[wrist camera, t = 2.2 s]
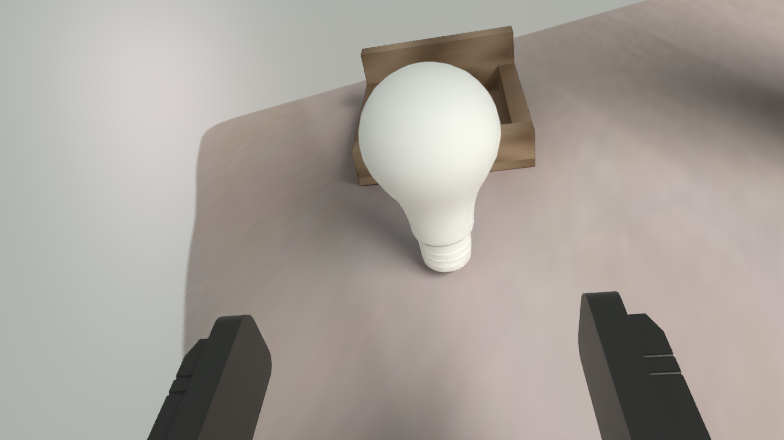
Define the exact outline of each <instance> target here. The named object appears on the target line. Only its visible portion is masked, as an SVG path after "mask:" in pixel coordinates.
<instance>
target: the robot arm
mask: <svg viewBox="0 0 784 440" xmlns="http://www.w3.org/2000/svg"><path fill="white" fill-rule="evenodd" d="M578 344H579V353H580V358H581V363H582V366H583V370H584V374H585V378H586V381H587V385H588V389H589V393H590V396H591V400H592V404H593V408H594V411H595V415H596V419H597V423H598V426H599V430H600V434H601V438H602V440H711V438H710V436H709V433H708V431H707V429H706V427H705V424H704V422H703V420H702V418H701V415H700V413H699V411H698V408H697V406H696V404H695V402H694V399H693V397H692V395H691V393H690V390H689V388H688V386H687V383H686V381H685V379H684V377H683V375H681V370H680V368H679V365H678V363H677V361H676V358H675V357H674V356H673V352H672V349H671V347H670V345H669V343H668V340H667V338H666V336H665V333H664V331H663V330H662V329H661V328H660V327H659V326H658V325H657V324H656V323H655V322H654V321H653V320H652V319H651V318H650V317H649V316H647V315H646V314H629V315H627V312H626V309H625V307H624V304H623V302H622V299H621V297H620V295H619V293H618V292H617V291H613V292H598V293H583V294H582V297H581V308H580V320H579V332H578ZM271 368H272V363H271V355H270V352H269V349H268V347H267V345H266V343H265V341H264V339H263V337H262V335H261V333H260V331H259V329H258V327H257V325H256V323H255V321H254V319H253V318H252V316H250V315H238V316H223V317H219V318H218V319H217V320H216V322H215V324H214V326H213V328H212V331H211V333H210V336H209V338H208V339H200V340H199V341H198V342H197V343H196V344H195V345H194V347H193V348H192V349H191V350H190V351H189V352H188V353H187V355H186V356H185V357H184V359H183V361H182V364H181V366H180V368H179V371H178V373H177V375H176V380H174V381H173V384H172V386H171V388H170V390H169V396H167V397H166V399H165V402H164V404H163V406H162V408H161V410H160V412H159V415H158V417H157V419H156V421H155V424H154V426H153V428H152V430H151V432H150V435H149V437H148V439H147V440H252V438H253V435H254V431H255V428H256V425H257V421H258V418H259V414H260V411H261V407H262V404H263V400H264V397H265V393H266V390H267V386H268V383H269V379H270V375H271Z"/></svg>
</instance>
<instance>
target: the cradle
mask: <svg viewBox="0 0 784 440" xmlns="http://www.w3.org/2000/svg"><path fill="white" fill-rule="evenodd" d="M361 58H362V63H363V67H364V72H365V77H366V81H367V87H366V91H365V96H364V100H363V105H362V109H361V113H362V111H363V108H364V106H365V104H366V102H367V100H368V98H369V96H370V95H371V93H372V92H373V90H374V89H375V87H376V86H377V85H378V84H379V83H380V82H382V81H383V80H384V79H385V78H386V77H387V76H389V75H390V74H391V73H393V72H395V71H397V70H399V69H401V68H403V67H405V66H407V65H411V64H414V63H419V62H439V63H446V64H450V65H452V66H455V67H457V68H460V69H462V70H465V71H466V72H468V73H469V74H470V75H472V76H473V77H474V78H476V79H477V80H478V81H479V82H480V83H481V84H482V85H483V86H484V88H485V89H486V90H487V91H488V93H489V94H490V96H491V98H492V100H493V102H494V104H495V106H496V109H497V113H498V116H499V120H500V127H501V138H500V144H499V149H498V153H497V157H496V159H495V161H494V163H493V165H492V167H491V169H490V171H497V170H506V169H515V168H524V167H533V166H535V130H534V126H533V123H532V120H531V117H530V113H529V110H528V107H527V104H526V100H525V97H524V94H523V90H522V87H521V84H520V81H519V77H518V74H517V71H516V68H515V64H514V44H513V30H512V27H511V26H508V27H501V28H495V29H489V30H482V31H475V32H469V33H463V34H456V35H450V36H443V37H437V38H430V39H424V40H417V41H410V42H405V43H397V44H391V45H384V46H378V47H372V48H365V49H362V52H361ZM360 118H361V114H360ZM360 118H359V123H358V127H357V132H356V136H355V141H354V145H353V149H352V156H353V159H354V163H355V167H356V171H357V175H358V178H359V182H360V186H362V185H371V184H378V183H377V182H376V180H375V179H374V178H373V177H372V175H371V174H370V172H369V170H368V169H367V167H366V165H365V163H364V161H363V159H362V155H361V151H360V146H359V124H360Z"/></svg>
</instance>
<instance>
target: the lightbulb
mask: <svg viewBox="0 0 784 440" xmlns="http://www.w3.org/2000/svg"><path fill="white" fill-rule="evenodd" d="M500 138H501V127H500V120H499V116H498V113H497V109H496V106H495V104H494V102H493V100H492V98H491V96H490V94H489V93H488V91H487V90H486V89H485V88H484V86H483V85H482V84H481V83H480V82H479V81H478V80H477V79H476V78H474V77H473V76H472V75H470V74H469V73H468V72H466V71H465V70H462V69H460V68H457V67H455V66H452V65H450V64H446V63H439V62H419V63H414V64H411V65H407V66H405V67H403V68H401V69H399V70H397V71H395V72H393V73H391V74H390V75H389V76H387V77H386V78H385V79H384V80H383V81H382V82H380V83H379V84H378V85H377V86H376V87H375V89H374V90H373V92H372V93H371V95H370V96H369V98H368V100H367V102H366V104H365V106H364V108H363V111H362V113H361V118H360V124H359V146H360V151H361V155H362V159H363V161H364V163H365V165H366V167H367V169H368V170H369V172H370V174H371V175H372V177H373V178H374V179H375V180H376V182H377V183H378V184H379V185H380V186H381V187H382V188H383V189H384V190H385V191H386V192H387V193H388V194H389V195H390V196H392V197H393V198H394V199H395V200H396V201H397V202H398V203H399V204H400V206H401V207H402V209H403V210H404V212H405V214H406V216H407V218H408V220H409V223H410V227H411V230H412V233H413V234H414V236H415V238H416V239H418V242H419V245H420V250H421V253H422V257H423V259H424V262H425V264H426V265H427V266H428V267H430V268H431V269H433V270H435V271H439V272H452V271H455V270H458V269H460V268H462V267H463V266H464V265H465V264H466V263H467V262H468V261H469V259H470V257H471V234H470V232H471V231H472V229H473V225H474V206H475V200H476V197H477V194H478V191H479V189H480V187H481V186H482V184H483V182H484V181H485V179H486V177H487V175H488V173H489V171H490V169H491V167H492V165H493V163H494V161H495V159H496V157H497V153H498V149H499V144H500Z"/></svg>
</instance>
